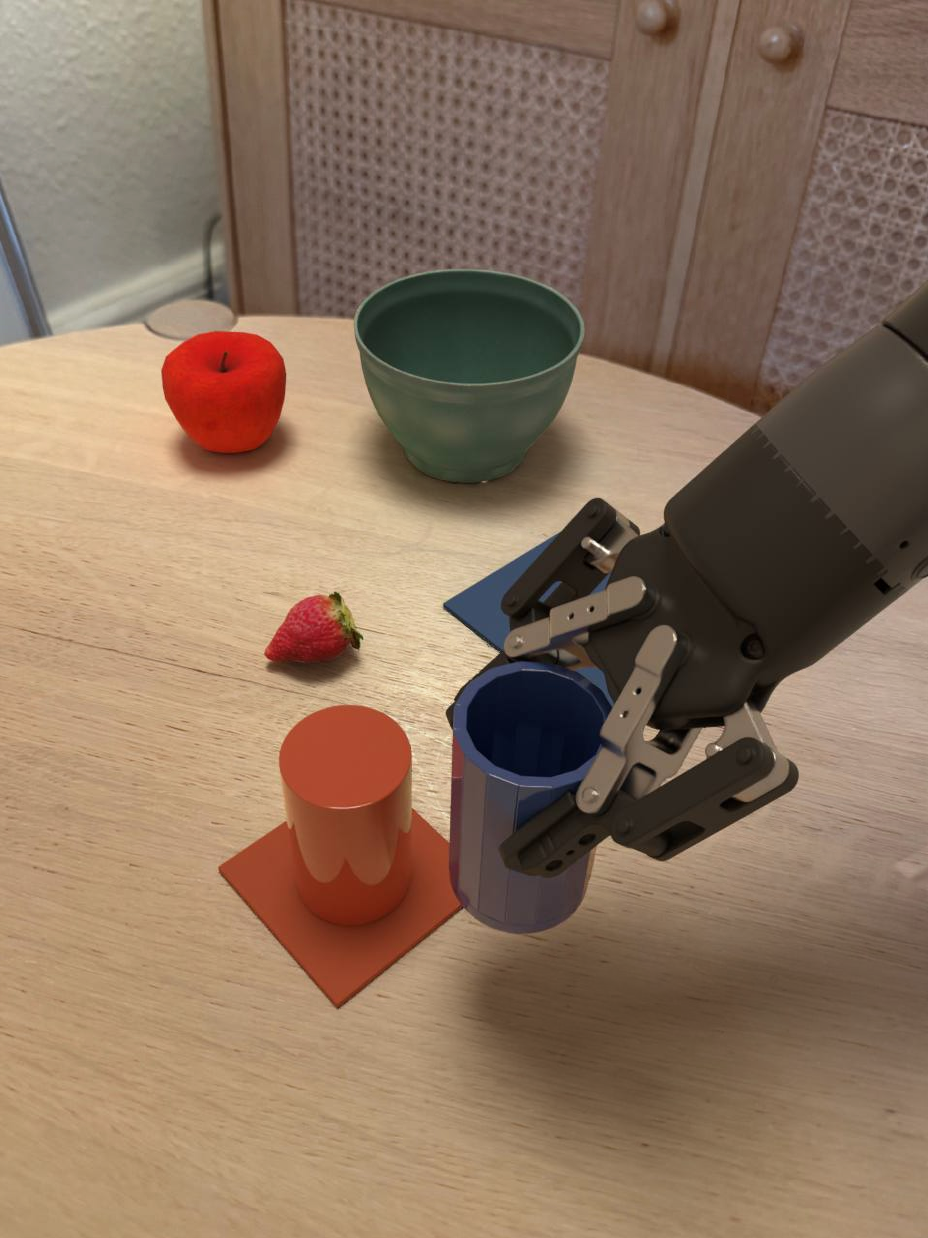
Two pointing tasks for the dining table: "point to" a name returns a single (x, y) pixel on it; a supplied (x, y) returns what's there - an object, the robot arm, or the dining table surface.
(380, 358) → the flower pot
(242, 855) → the red mat
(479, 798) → the blue cup
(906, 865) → the dining table surface
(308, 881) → the tall red cylinder
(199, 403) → the apple
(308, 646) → the fruit
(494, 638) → the blue mat
